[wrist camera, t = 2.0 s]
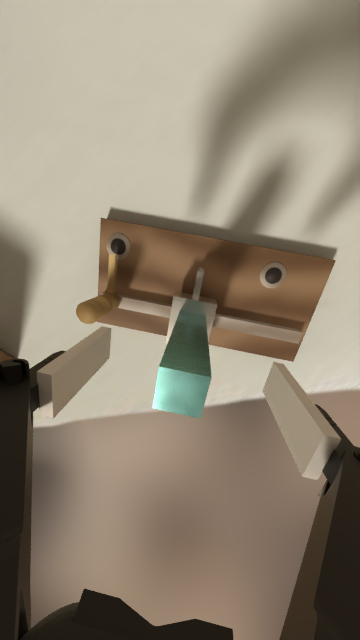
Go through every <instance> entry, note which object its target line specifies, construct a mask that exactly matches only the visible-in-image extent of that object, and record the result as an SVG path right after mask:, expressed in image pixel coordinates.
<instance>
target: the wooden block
mask: <svg viewBox="0 0 360 640" xmlns="http://www.w3.org/2000/svg"><path fill="white" fill-rule="evenodd" d="M10 359H15V358H13V357H11V356H10V355H8V354H7V353H5V352H3V351H2V350H0V362H3V361H5V360H10Z"/></svg>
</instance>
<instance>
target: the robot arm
mask: <svg viewBox="0 0 360 640" xmlns="http://www.w3.org/2000/svg"><path fill="white" fill-rule="evenodd" d="M110 340H111V328H107V327H101V328H99V329H98V330H96V331H95V332H93V333H92V334H91V335H89V336H88V337H86V338H85V339H83V340H82V341H80V342H79V343H77V344H76V345H75V346H73V347H72V348H70V349H69V350H67V351H59V352H56V353H54V354H52V355H50V356H49V357H47V359H44V360H43V361H42V362H40V363H38V364H37V365H35V366H33V367H32V368H30V369H29V363H28V361H27V360H25V359H10V360H5V361H3V362H0V640H233V630H232V629H230V628H227V627H223V626H219V625H216V624H212V623H209V622H205V621H201V620H198V619H192V620H187V621H182V622H177V623H172V624H167V625H163V626H153V625H152V624H150V623H149V622H148V621H147V620H145V619H144V618H143V617H142V616H140V615H139V614H138V613H137V612H136V611H134V610H133V609H132V608H131V607H129V606H128V605H127V604H126V603H125V602H123V601H122V600H121V599H120V598H117V597H113V596H109V595H106V594H102V593H98V592H95V591H91V590H87V589H84V591H83V593H82V596H81V599H80V602H78V603H72V604H70V605H67V606H64V607H62V608H60V609H58V610H56V611H54V612H53V613H51V614H49V615H48V616H47V617H45V618H44V619H42V620H41V621H40V622H38V623H37V624H36V625H35V626H34V627H33V628H31V597H30V559H31V557H30V556H31V508H32V506H31V505H32V454H33V450H32V449H33V412H34V411H35V410H36V409H37V408H38V407H39V413H40V416H44V417H48V418H54V417H55V416H56V415H57V414H58V413H59V412H60V411H61V410H62V409H63V408H64V407H65V405H66V404H67V403H68V402H69V401H70V400H71V399H72V398H73V397H74V396H75V395H76V394H77V392H78V391H79V390H80V389H81V388H82V387H83V386H84V385H85V384H86V383H87V382H88V381H89V379H90V378H91V377H92V376H93V375H94V374H95V373H96V372H97V371H98V370H99V369H100V368H101V366H102V365H103V364H104V363H105V362H106V361H107V360H108V359H109V355H110ZM263 393H264V395H265V397H266V399H267V401H268V403H269V406H270V408H271V410H272V412H273V414H274V417H275V419H276V421H277V423H278V425H279V428H280V430H281V432H282V434H283V436H284V438H285V440H286V443H287V445H288V447H289V449H290V452H291V454H292V456H293V458H294V460H295V462H296V465H297V467H298V469H299V471H300V473H301V475H302V476H303V477H307V478H311V479H315V480H318V478H319V476H320V475H321V473H322V471H323V473H324V475H325V476H326V478H327V481H326V483H325V484H324V486H323V488H322V490H321V491H320V493H319V494H318V496H320V497H321V498H320V501H319V505H318V508H317V512H316V515H315V519H314V522H313V525H312V529H311V533H310V536H309V539H308V543H307V546H306V550H305V553H304V557H303V560H302V563H301V567H300V571H299V574H298V577H297V581H296V584H295V588H294V591H293V595H292V598H291V602H290V605H289V608H288V612H287V615H286V619H285V623H284V626H283V629H282V633H281V636H280V640H360V448H359V447H355V446H353V444H352V443H351V442H350V441H349V440H348V438H347V437H346V436H345V434H344V433H343V432H342V431H341V430H340V429H339V427H338V426H337V425H336V423H335V422H334V421H333V420H332V419H331V417H330V416H329V415H328V414H327V412H326V411H325V410H323V409H322V408H321V407H320V406H318V405H316V404H314V403H313V402H312V400H311V399H310V398H309V397H308V395H307V394H306V393H305V391H304V390H303V389H302V388H301V386H300V385H299V384H298V382H297V381H296V380H295V378H294V377H293V376H292V375H291V373H290V372H289V371H288V369H287V368H286V367H285V366H284V364H281V363H276V362H273V365H272V367H271V370H270V373H269V375H268V378H267V381H266V383H265V386H264V389H263Z"/></svg>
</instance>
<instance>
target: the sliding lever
mask: <svg viewBox="0 0 360 640" xmlns="http://www.w3.org/2000/svg"><path fill="white" fill-rule="evenodd" d="M203 276H204V269H203V268H202V267H200V268H198V271H197V276H196V281H195V286H194V291H193V295H192V294H187V293H182V292H176V293H175V295H174V296H173V302H172V308H171V314H170V320H169V326H168V332H167V338H166V344H167V347H166V349H165V352H164V355H163V357H162V360H161V363H160V365H159V370H158V376H157V383H156V389H155V395H154V401H153V407H152V408H154V409H159V410H164V411H168V412H173V413H177V414H182V415H187V416H192V417H196V418H201V414H202V410H203V407H204V403H205V399H206V396H207V392H208V388H209V385H210V381H211V367H210V357H209V346H208V341H209V337H210V333H211V329H212V325H213V320H214V316H215V312H216V308H217V302H216V299H213V298H208V297H203V296H199V295H200V290H201V285H202V281H203Z"/></svg>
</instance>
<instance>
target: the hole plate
mask: <svg viewBox="0 0 360 640" xmlns="http://www.w3.org/2000/svg"><path fill="white" fill-rule="evenodd" d="M335 261H336V260H330V259H325V258H319V257H314V256H308V255H303V254H297V253H292V252H286V251H281V250H275V249H270V248H264V247H259V246H253V245H248V244H242V243H237V242H231V241H226V240H220V239H215V238H209V237H204V236H198V235H193V234H187V233H182V232H176V231H171V230H165V229H160V228H154V227H149V226H143V225H138V224H132V223H127V222H121V221H116V220H110V219H105V218H101V230H100V256H99V283H98V296H97V297H95V298H92V299H90V300H87V301H85V302H82V303H80V304H79V305H78V306H77V309H76V313H77V316H78V318H79V319H80V320H81V321H82V322H84V323H86V324H92V323H94V322H96V321H97V322H100V323H105V324H110V325H115V326H120V327H125V328H130V329H135V330H140V331H145V332H150V333H154V334H159V335H164V336H167V332H168V326H169V320H170V314H171V308H172V302H173V296H174V295H175V293H176V292H182V293H187V294H192V295H193V291H194V286H195V281H196V276H197V271H198V268H200V267H202V268H203V269H204V276H203V281H202V285H201V290H200V295H199V296H203V297H208V298H213V299H216V302H217V308H216V312H215V316H214V320H213V325H212V329H211V333H210V337H209V341H208V344H209V345H214V346H219V347H224V348H228V349H233V350H238V351H243V352H248V353H253V354H258V355H263V356H268V357H273V358H278V359H283V360H288V361H294V359H295V356H296V354H297V352H298V349H299V347H300V344H301V342H302V340H303V337H304V335H305V332H306V330H307V328H308V325H309V323H310V321H311V318H312V316H313V313H314V311H315V309H316V306H317V304H318V301H319V299H320V297H321V294H322V292H323V290H324V287H325V285H326V282H327V280H328V278H329V275H330V273H331V270H332V268H333V266H334V263H335Z"/></svg>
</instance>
